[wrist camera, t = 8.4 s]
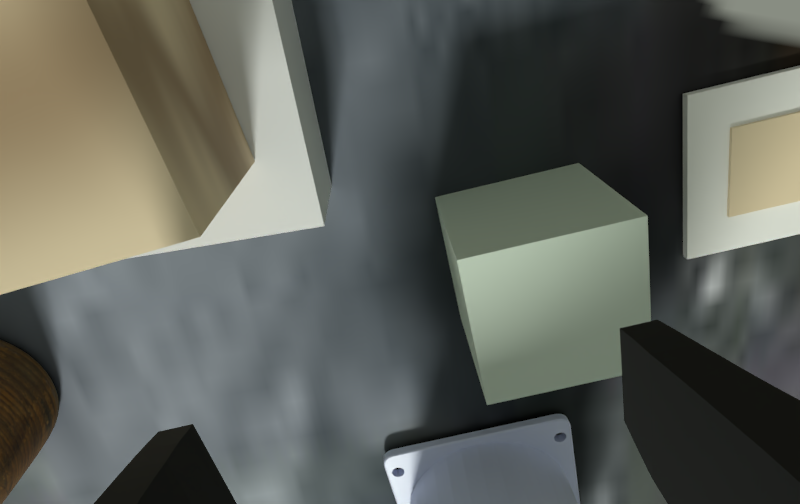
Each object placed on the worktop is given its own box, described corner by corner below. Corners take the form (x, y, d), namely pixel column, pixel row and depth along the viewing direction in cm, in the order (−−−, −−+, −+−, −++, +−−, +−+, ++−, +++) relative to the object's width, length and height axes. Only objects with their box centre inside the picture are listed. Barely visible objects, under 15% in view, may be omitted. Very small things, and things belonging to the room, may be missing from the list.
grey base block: (332, 181, 18) (324, 226, 15) (74, 224, 19) (4, 278, 15) (264, -134, 15) (231, -178, 11) (-60, -78, 15) (-199, -103, 11)
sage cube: (588, 286, 20) (652, 368, 16) (460, 316, 21) (486, 405, 16) (577, 161, 18) (647, 216, 14) (434, 196, 19) (457, 260, 14)
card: (846, 218, 20) (856, 222, 19) (682, 256, 20) (689, 261, 20) (870, 48, 17) (882, 49, 17) (682, 93, 17) (689, 95, 17)
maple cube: (254, 161, 14) (200, 237, 9) (76, 214, 14) (-61, 312, 10) (167, -53, 12) (43, -89, 7) (-39, 15, 12) (-281, 20, 8)
